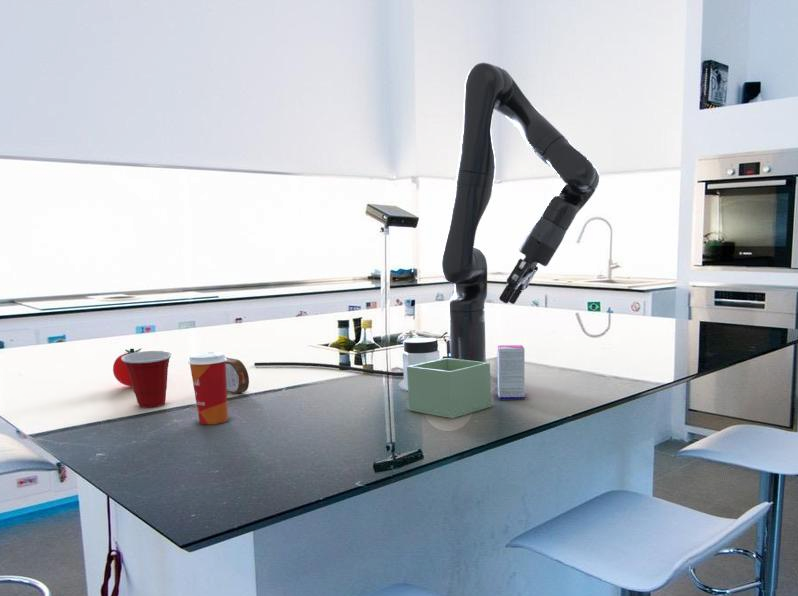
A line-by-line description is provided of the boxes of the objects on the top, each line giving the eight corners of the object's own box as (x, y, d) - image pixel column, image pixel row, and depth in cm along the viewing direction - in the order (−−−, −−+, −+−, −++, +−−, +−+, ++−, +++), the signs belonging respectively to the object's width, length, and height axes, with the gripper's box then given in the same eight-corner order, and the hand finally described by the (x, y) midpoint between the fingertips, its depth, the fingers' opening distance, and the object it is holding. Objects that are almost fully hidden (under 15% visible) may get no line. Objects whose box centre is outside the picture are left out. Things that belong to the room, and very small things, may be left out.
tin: (251, 394, 184) (248, 359, 182) (240, 396, 182) (236, 361, 180) (218, 387, 194) (215, 354, 192) (207, 389, 192) (204, 356, 190)
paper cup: (199, 417, 161) (192, 352, 158) (236, 415, 162) (229, 351, 159) (190, 426, 153) (182, 358, 151) (228, 424, 154) (222, 357, 151)
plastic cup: (129, 412, 168) (122, 359, 166) (125, 404, 178) (118, 353, 175) (180, 406, 173) (174, 354, 171) (173, 397, 183) (167, 348, 180)
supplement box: (525, 399, 167) (524, 348, 164) (498, 400, 167) (497, 348, 164) (523, 393, 172) (522, 344, 170) (497, 394, 172) (496, 345, 170)
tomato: (106, 389, 197) (101, 351, 195) (136, 381, 207) (131, 345, 205) (136, 390, 193) (132, 352, 191) (166, 383, 203) (161, 346, 201)
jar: (444, 391, 178) (443, 340, 176) (412, 394, 176) (409, 343, 173) (432, 384, 187) (430, 336, 184) (401, 388, 184) (398, 339, 182)
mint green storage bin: (408, 410, 160) (406, 366, 158) (448, 399, 169) (446, 357, 167) (452, 418, 152) (450, 372, 150) (491, 406, 161) (489, 362, 159)
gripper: (533, 236, 180) (499, 294, 184) (523, 229, 167) (486, 292, 170) (560, 251, 179) (525, 310, 182) (552, 246, 165) (514, 310, 169)
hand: (506, 301), depth 176 cm, fingers open, 8 cm apart
